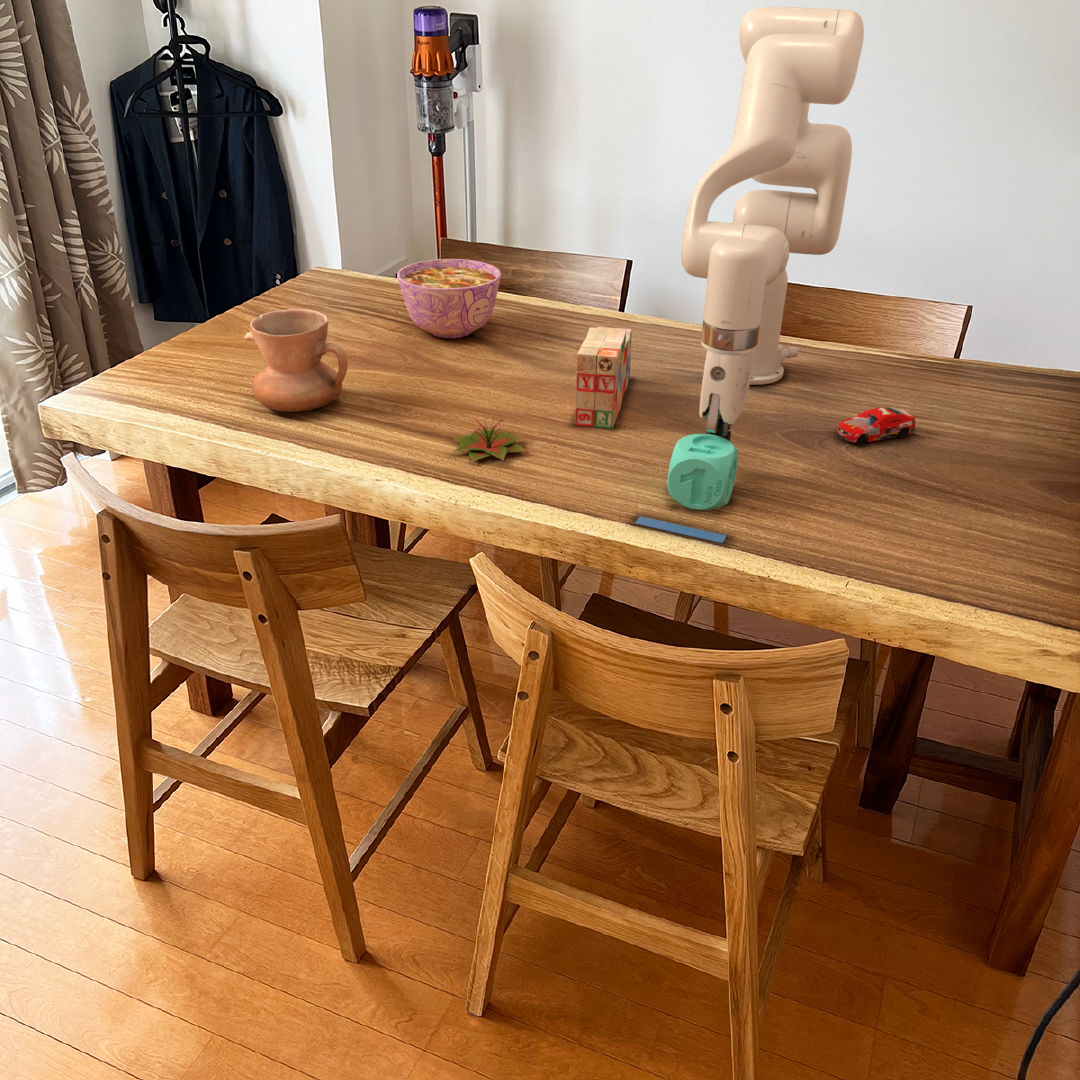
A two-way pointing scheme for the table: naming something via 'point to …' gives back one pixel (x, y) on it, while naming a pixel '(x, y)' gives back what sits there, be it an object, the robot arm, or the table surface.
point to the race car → (876, 425)
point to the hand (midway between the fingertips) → (715, 456)
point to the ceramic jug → (295, 360)
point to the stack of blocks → (602, 376)
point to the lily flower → (489, 443)
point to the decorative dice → (702, 471)
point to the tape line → (681, 529)
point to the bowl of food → (449, 295)
